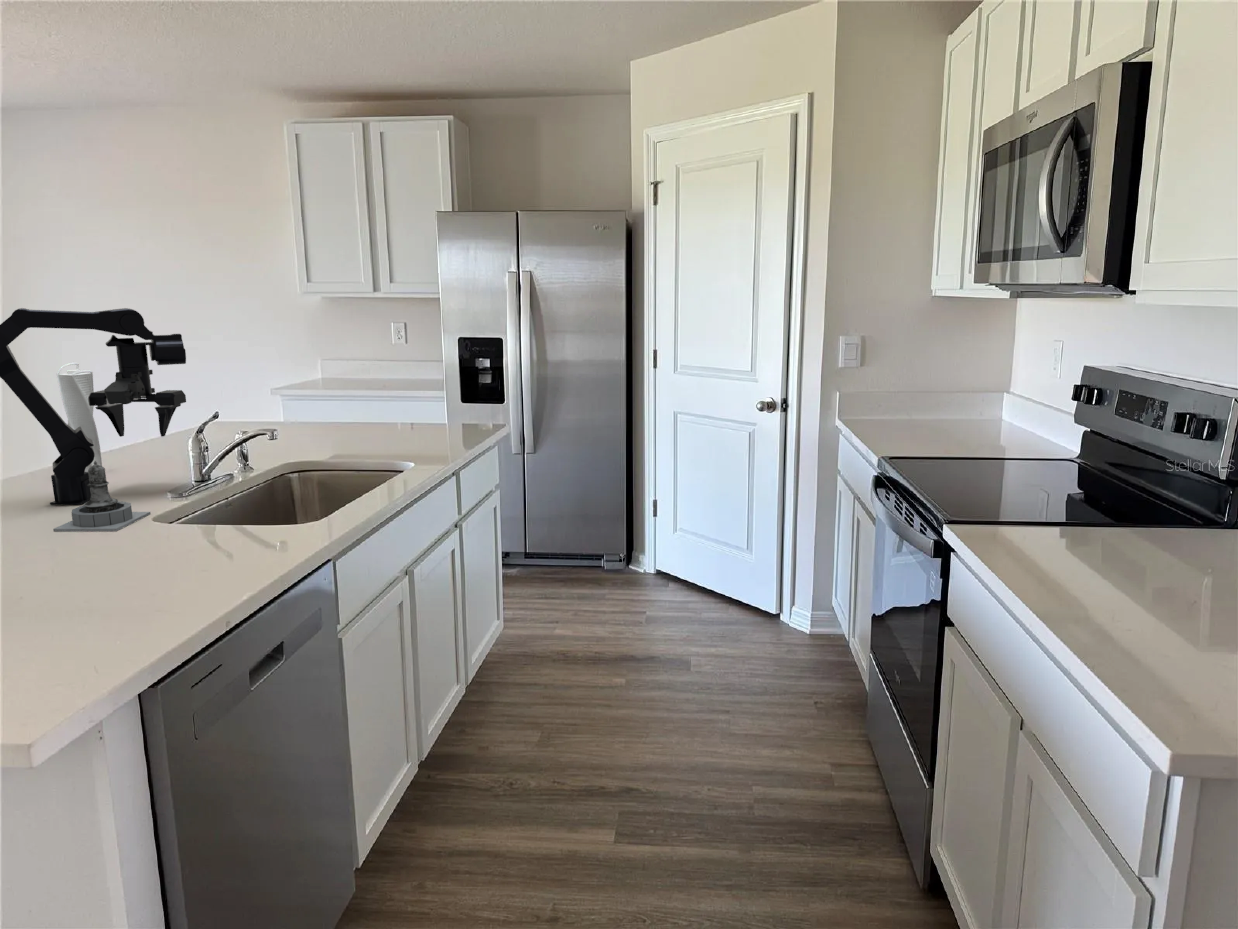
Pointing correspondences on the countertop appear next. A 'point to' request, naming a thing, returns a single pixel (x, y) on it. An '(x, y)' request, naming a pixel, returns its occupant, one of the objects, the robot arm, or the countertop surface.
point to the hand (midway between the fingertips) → (142, 436)
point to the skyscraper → (79, 404)
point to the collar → (102, 519)
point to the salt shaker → (99, 491)
